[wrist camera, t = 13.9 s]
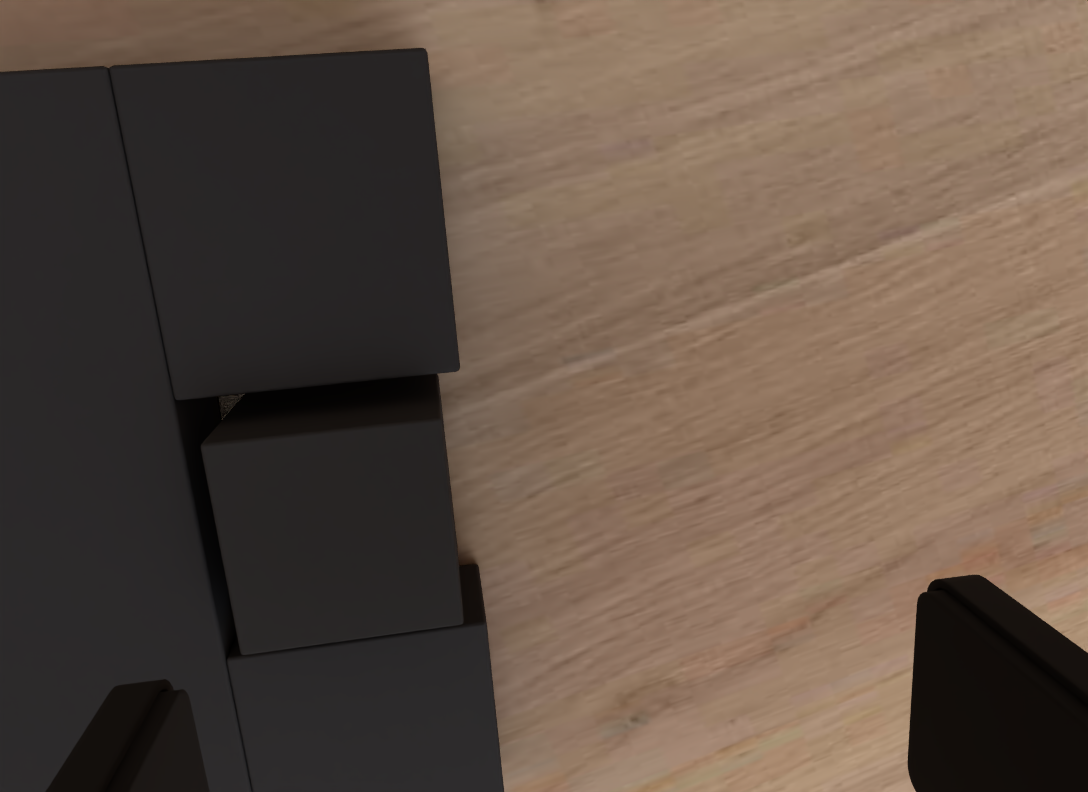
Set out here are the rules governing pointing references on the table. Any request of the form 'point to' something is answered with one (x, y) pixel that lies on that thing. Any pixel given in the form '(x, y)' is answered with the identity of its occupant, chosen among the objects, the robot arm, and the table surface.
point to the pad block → (335, 513)
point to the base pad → (212, 402)
